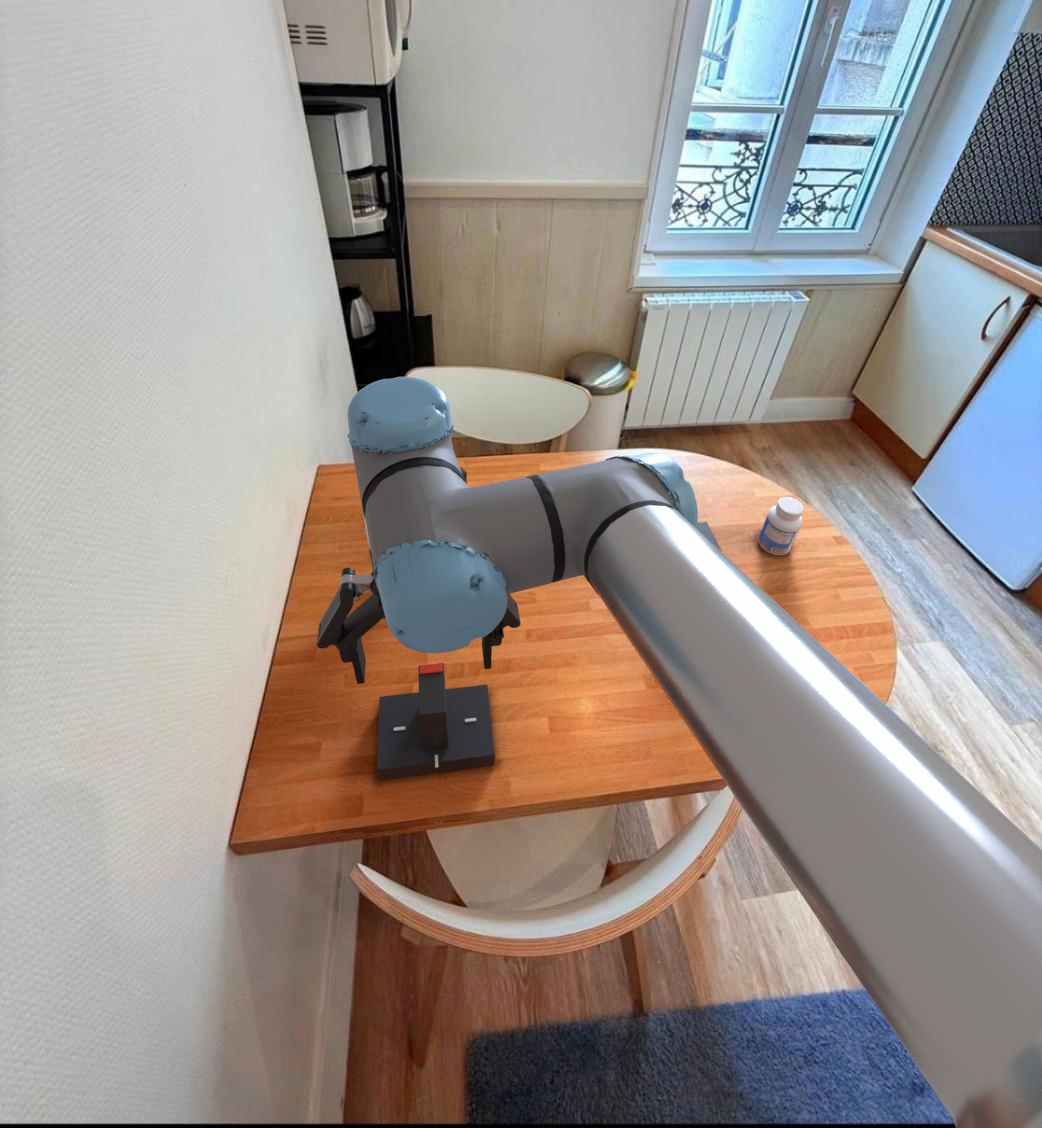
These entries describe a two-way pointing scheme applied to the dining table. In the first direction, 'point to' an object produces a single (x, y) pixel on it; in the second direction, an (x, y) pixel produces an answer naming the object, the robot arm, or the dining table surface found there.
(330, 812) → the dining table surface
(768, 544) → the pill bottle
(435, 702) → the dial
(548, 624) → the dining table surface
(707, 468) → the dining table surface
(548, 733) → the dining table surface
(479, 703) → the panel
